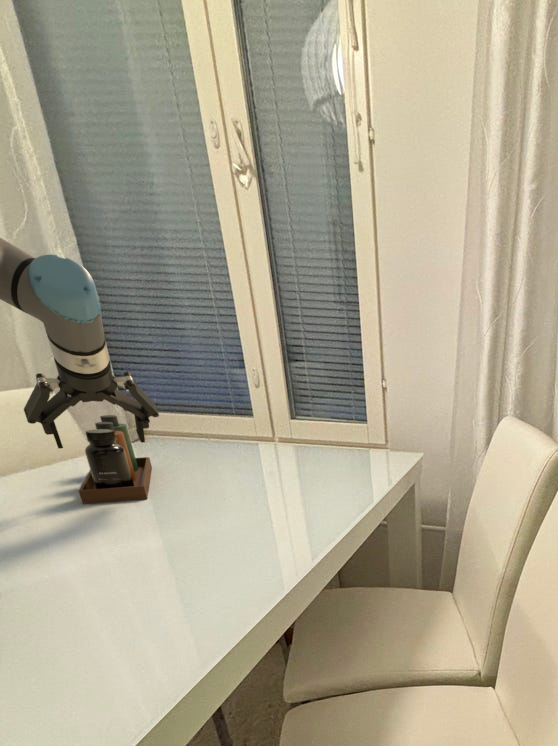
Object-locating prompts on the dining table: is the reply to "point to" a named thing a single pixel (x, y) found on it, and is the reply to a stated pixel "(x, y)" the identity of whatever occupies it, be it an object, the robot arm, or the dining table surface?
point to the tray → (121, 493)
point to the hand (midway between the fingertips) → (101, 439)
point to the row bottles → (120, 439)
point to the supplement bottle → (107, 460)
